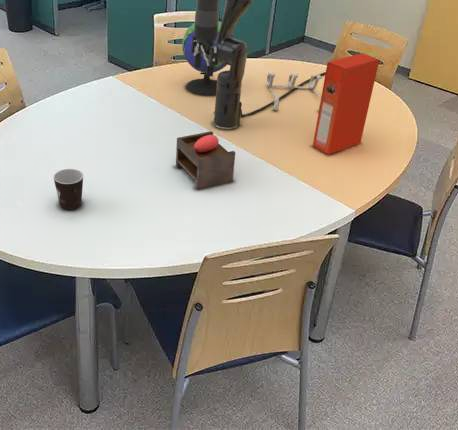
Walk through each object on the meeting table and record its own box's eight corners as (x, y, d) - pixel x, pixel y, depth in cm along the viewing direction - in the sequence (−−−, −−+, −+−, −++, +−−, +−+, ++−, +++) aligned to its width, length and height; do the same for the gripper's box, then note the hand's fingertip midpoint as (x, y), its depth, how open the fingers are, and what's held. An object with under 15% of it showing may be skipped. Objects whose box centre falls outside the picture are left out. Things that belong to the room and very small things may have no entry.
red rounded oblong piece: (221, 156, 190) (224, 136, 189) (200, 152, 184) (203, 132, 184) (211, 154, 194) (214, 135, 193) (190, 151, 189) (193, 131, 188)
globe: (182, 76, 266) (186, 9, 249) (231, 80, 264) (238, 12, 247) (177, 96, 248) (180, 24, 231) (230, 100, 246) (237, 28, 229)
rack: (209, 159, 203) (211, 131, 197) (232, 181, 192) (235, 152, 185) (175, 166, 198) (176, 137, 192) (197, 190, 187) (199, 159, 180)
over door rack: (313, 86, 262) (317, 65, 256) (325, 114, 238) (330, 92, 232) (265, 84, 262) (268, 63, 256) (272, 112, 238) (276, 89, 232)
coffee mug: (57, 197, 180) (54, 168, 175) (85, 196, 181) (84, 168, 175) (54, 218, 171) (51, 189, 165) (83, 218, 172) (81, 189, 166)
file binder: (311, 146, 214) (327, 61, 196) (343, 135, 223) (361, 52, 205) (328, 155, 209) (346, 69, 191) (360, 143, 218) (380, 59, 199)
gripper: (227, 28, 182) (223, 77, 191) (206, 15, 193) (203, 63, 202) (206, 30, 179) (203, 80, 188) (185, 17, 190) (183, 65, 199)
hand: (203, 71), depth 195 cm, fingers open, 8 cm apart
